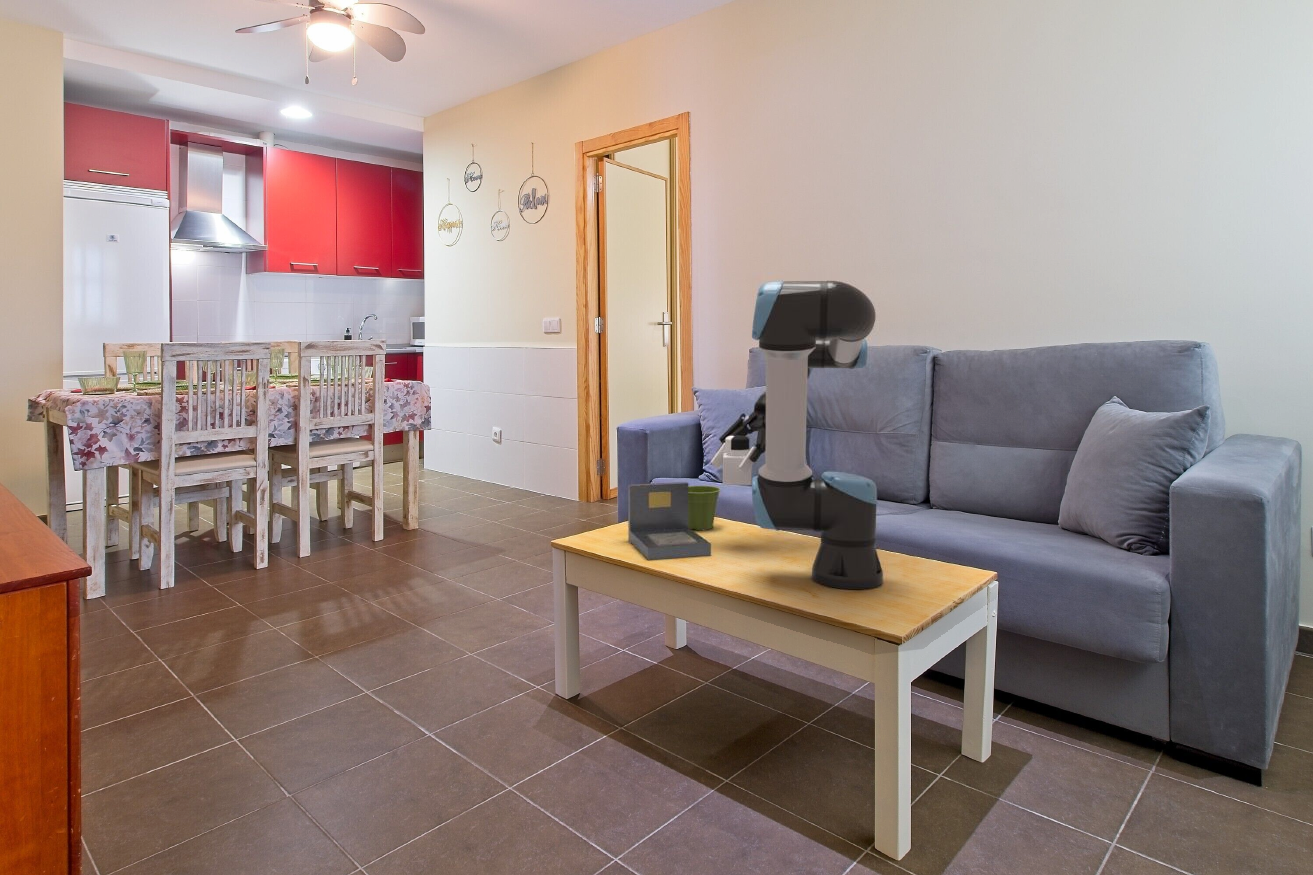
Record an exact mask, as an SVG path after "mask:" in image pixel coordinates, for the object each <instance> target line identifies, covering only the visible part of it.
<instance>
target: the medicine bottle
mask: <svg viewBox="0 0 1313 875" xmlns="http://www.w3.org/2000/svg"><path fill="white" fill-rule="evenodd" d="M749 451H750V438H749V437H748V436H747V435H746V436H739V435H735V436H728V437H726V439H725V452H727V453H724V454H723V462H722V485H723V486H752V471H753V470H752V468H753V465H752V466H751V468H750V469H749V471H748V472H747V474H744V473H743V471H742V470H741V469H740V468H739V465H740V464H741V463H742V461H743V460H744V458H745V457H746V455H747V454H748V452H749Z"/></svg>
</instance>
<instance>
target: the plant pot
mask: <svg viewBox="0 0 1313 875" xmlns="http://www.w3.org/2000/svg"><path fill="white" fill-rule="evenodd" d="M721 490H722V488H720V487H717V486H714V485H713V486H712V485H688V528H690V529H691V530H695V531H708V530H710V529H713V527H714V522H715V521H714V520H715V513H716V509H717V502H718V499H719V494H720V492H721Z"/></svg>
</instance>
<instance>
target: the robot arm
mask: <svg viewBox="0 0 1313 875" xmlns="http://www.w3.org/2000/svg"><path fill="white" fill-rule="evenodd" d="M876 315H877V314H876V309H875V306H874V304H873V302H872V301H871V299H870V298H869V297H868V296H867V295H866V294H865V293H864V292H862V291H861V290H860V289H859V288H857V287H855V286H853V285H852V284H848V283H845V282H843V281H837V280H820V281H818V280H817V281H815V280H814V281H813V280H810V281H809V280H808V281H807V280H804V281H803V280H802V281H801V280H798V281H797V280H796V281H795V280H793V281H790V280H785V281H783V280H781V281H771V282H770V281H769V282H764V283H763V284H762V285H760V286H759V287H758V291H757V294H756V301H755V307H754V313H753V321H752V331H751V332H752V333H751V337H752V339H753V340H755V341H758V348H759V350H760V351H761V352H762V353H763V354H764V355H765V358H766V361H765V363H766V364H765V389H764V390H763V391H762V393H761V394H760V396H759V397H758V398H757V400H756V402H755V403H754V406H753V407H754V408H753V411H752V412H751V413H750V414H749V415H746V414H745V413H744V412H743V413H741V414H740V416H739V417H738V419H737V420H736V421H735V422H734V423H733V424H731V426H730V427H728V429H727V430H726V431H724V433H723V434H722V435H721V436H720V437H719V438H718V440H719V441H720V442H721V445H720V446H719V448H718V449H717V450H716V453H715V454H714V456H713V457H712V459H711V460H710V463H711V464H712V465H713V467H714V468H715V469H717V470H718V469H720V467H721V465H723V454H724V453H727V452H725V439H726V437H728V436H735V435H739V436H746V437H747V435H751V434H753V433H754V432H757V436H756V443H755V444H754V446H752V447H751V448H749V452H748V454H747V455H746V457H745V458H744V460H743V461H742V463H741V464H740V465H739V468H740V469H741V470H742V471H743V473H744V474H747V472H748V471H749V469H750V468H751V466H752V467H753V465H754V463H756V462H757V461H758V459H759V458H760V457H761V455H762V454H764V453H765V463H764V464H762V465H761V467H759V469H758V473H757V474H758V475H756V476H753V477H751V498H752V499H751V500H752V508H753V514H754V519H755V522H756V524H757V526H758V527H760V528H761V529H764V530H774V531H777V532H780V531H789V532H790V531H792V532H793V531H794V532H820V544H819V547H818V550H817V553H816V556H815V559H814V562H813V564H812V567H811V579H812V580H813V581H814V582H815V583H818V584H821V585H822V586H825V587H826V586H827V587H830V588H835V589H843V590H866V589H867V590H868V589H872V588H876V587H877V588H878V587H879V586H881V585H882V584H883V579H884V573H883V571H884V570H883V568H882V564H881V562H880V558H879V554H878V551H877V548H876V537H877V505H878V503H879V501H878V491H877V485H876V483H875V481H873V479H870V478H867V477H866V476H862V475H859V474H854V473H848V472H844V471H843V472H841V471H825V472H823V473H822V474H821V478H814V477H813V471H812V468H810V466H809V465H808V464H806V455H807V453H806V452H807V451H806V450H807V408H808V406H807V405H808V379H809V378H810V376H811V375H812V372H813V370H814V369H848V370H849V369H850V370H853V369H863V368H865V367H866V365H867V360H868V342H867V340H866V338H867V337H868V336H869V335H870V334H871V333H872V330H874V326H875V322H876V317H877V316H876Z"/></svg>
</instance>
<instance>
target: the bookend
mask: <svg viewBox="0 0 1313 875" xmlns="http://www.w3.org/2000/svg"><path fill="white" fill-rule="evenodd" d="M627 486H628V487H627V489H628V490H627V495H628V496H627V497H628V498H627V499H628V500H627V503H628V504H627V506H628V507H627V512H628V513H627V514H628V515H627V517H628V519H627V523H628V524H627V526H628V531H627V532H628V534H627V535H628V539H627V540H628V542H629V541H630V542H631V543H632V544H631V543H630V542H629V543H630V544H631V545H632V546H633V545H634V546H635V547H636V548H637V549H638V550H639V551H640V552H641V553H642V554H643V555H644V556H645V557H646V558H647V559H656V560H666V559H667V560H668V559H669V558H670V559H680V558H682V559H683V558H695V557H709V556H712V544H711V542H710V541H708V540H707V539H705V538H704V537H702V536H701V535H699V534H698V533H697V532H695V531H694V529H690V528H688V486H689V482H687V481H681V482H680V481H678V482H676V481H675V482H655V483H638V484H637V483H636V484H634V483H633V484H628V485H627ZM634 546H633V547H634ZM635 547H634V548H635ZM636 548H635V549H636ZM637 549H636V550H637ZM638 550H637V551H638ZM640 552H639V553H640ZM641 553H640V554H641ZM642 554H641V555H642ZM643 555H642V556H643ZM644 556H643V557H644ZM645 557H644V558H645ZM647 559H646V560H647Z"/></svg>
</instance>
